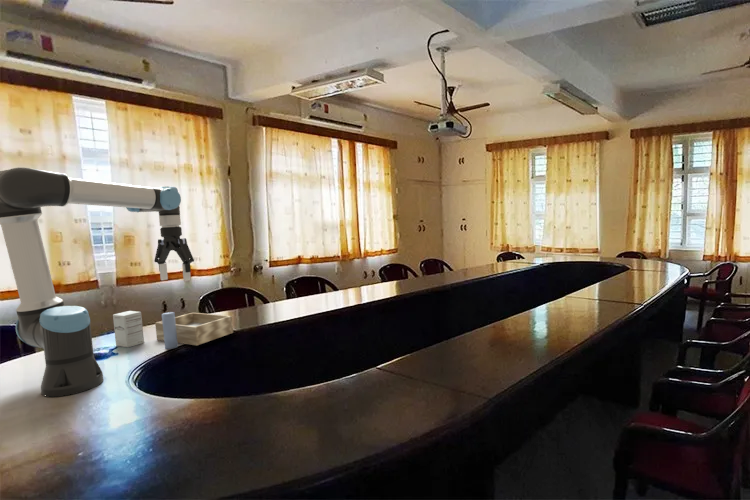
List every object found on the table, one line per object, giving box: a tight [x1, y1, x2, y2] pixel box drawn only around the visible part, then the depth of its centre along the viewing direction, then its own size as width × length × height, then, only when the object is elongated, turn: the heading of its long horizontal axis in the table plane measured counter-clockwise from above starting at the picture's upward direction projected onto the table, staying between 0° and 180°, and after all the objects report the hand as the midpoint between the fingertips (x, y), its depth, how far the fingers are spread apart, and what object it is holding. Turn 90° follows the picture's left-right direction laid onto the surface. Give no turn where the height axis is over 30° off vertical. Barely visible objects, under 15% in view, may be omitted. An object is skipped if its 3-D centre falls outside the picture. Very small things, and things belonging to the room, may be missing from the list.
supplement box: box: [112, 310, 145, 348], centre depth 171 cm, size 7×7×13 cm
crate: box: [154, 312, 234, 346], centre depth 177 cm, size 18×24×7 cm
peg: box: [161, 311, 179, 350], centre depth 163 cm, size 4×4×13 cm
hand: (175, 280), depth 171 cm, fingers open, 13 cm apart
